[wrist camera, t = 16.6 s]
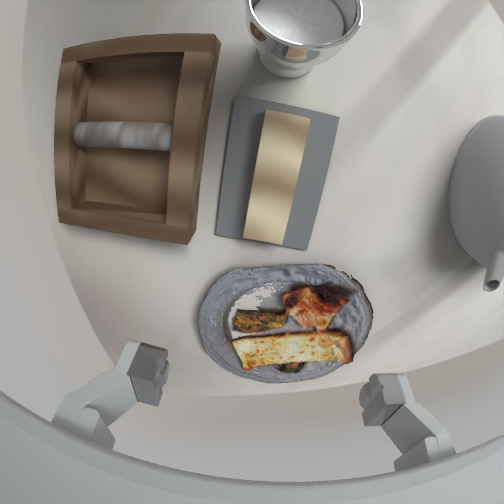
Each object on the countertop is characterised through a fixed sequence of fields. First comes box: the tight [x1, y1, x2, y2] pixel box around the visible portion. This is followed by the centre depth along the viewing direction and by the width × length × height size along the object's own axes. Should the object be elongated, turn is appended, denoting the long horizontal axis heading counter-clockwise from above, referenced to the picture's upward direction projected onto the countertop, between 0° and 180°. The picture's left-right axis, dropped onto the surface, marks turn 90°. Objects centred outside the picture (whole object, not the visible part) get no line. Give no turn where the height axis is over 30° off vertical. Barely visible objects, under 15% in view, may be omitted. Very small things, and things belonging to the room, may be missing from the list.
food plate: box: [198, 263, 373, 383], centre depth 39 cm, size 25×23×4 cm
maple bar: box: [243, 109, 311, 245], centre depth 29 cm, size 14×4×2 cm, turn 170°
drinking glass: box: [245, 0, 363, 78], centre depth 16 cm, size 7×7×15 cm
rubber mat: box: [216, 97, 339, 250], centre depth 30 cm, size 16×11×1 cm
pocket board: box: [54, 34, 221, 245], centre depth 26 cm, size 22×18×4 cm
